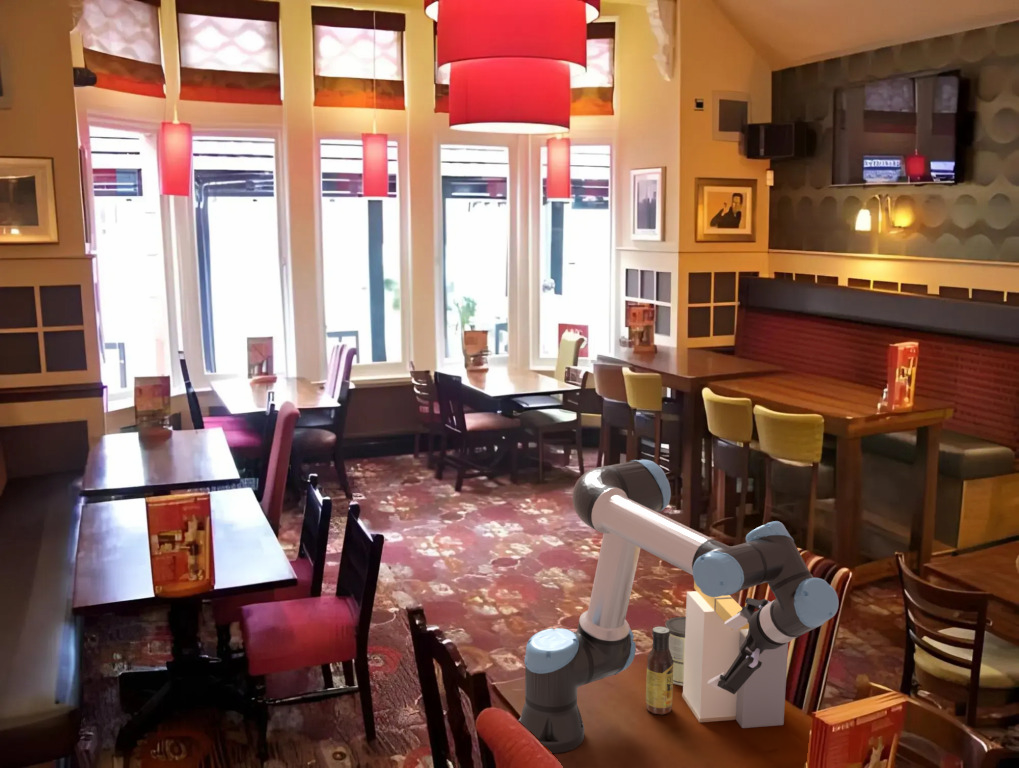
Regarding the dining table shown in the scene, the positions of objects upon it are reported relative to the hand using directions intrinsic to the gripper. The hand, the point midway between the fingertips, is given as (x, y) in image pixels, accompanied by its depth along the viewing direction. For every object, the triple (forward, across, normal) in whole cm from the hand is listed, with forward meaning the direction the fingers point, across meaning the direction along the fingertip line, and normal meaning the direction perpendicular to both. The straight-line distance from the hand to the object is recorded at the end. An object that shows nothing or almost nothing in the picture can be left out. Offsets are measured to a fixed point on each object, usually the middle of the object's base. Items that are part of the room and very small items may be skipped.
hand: (722, 655), depth 188 cm
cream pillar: (+36, +5, -15) cm, 40 cm away
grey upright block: (+32, +7, -23) cm, 40 cm away
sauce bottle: (+39, 0, -4) cm, 40 cm away
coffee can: (+48, +14, -11) cm, 52 cm away
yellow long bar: (+16, +19, -3) cm, 25 cm away
